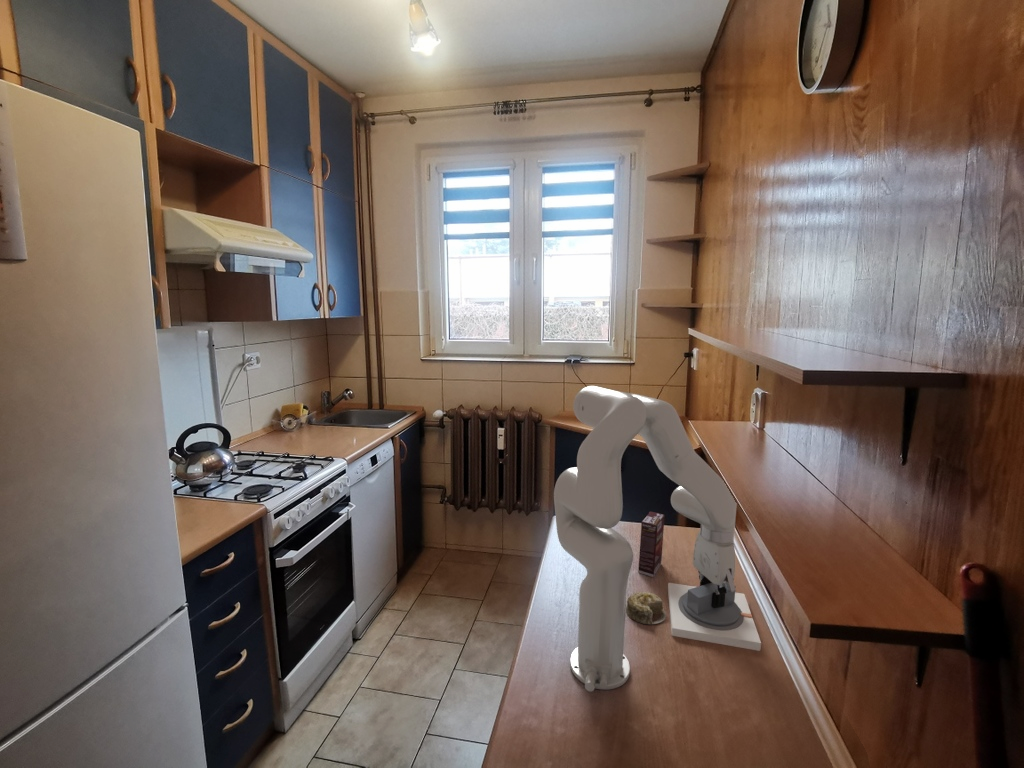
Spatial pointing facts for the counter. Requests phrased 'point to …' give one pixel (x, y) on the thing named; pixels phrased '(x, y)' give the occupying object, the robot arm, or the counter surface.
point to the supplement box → (651, 544)
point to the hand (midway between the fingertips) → (711, 600)
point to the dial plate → (691, 628)
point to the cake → (645, 607)
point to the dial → (710, 606)
